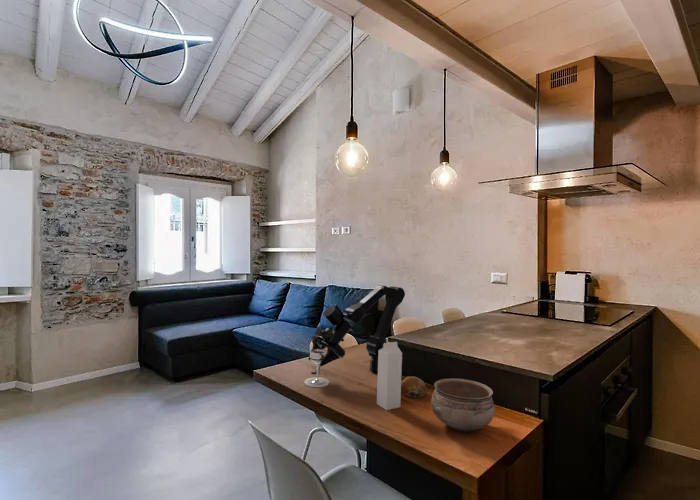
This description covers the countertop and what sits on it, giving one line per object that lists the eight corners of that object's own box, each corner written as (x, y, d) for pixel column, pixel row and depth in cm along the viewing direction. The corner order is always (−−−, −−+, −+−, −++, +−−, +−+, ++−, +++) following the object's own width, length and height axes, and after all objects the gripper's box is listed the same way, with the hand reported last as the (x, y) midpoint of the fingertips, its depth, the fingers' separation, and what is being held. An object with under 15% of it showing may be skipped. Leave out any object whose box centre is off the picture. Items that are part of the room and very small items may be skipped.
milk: (400, 407, 133) (403, 343, 133) (385, 410, 130) (388, 345, 130) (390, 401, 139) (392, 339, 139) (376, 403, 136) (378, 341, 136)
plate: (326, 378, 161) (326, 376, 161) (331, 386, 152) (331, 384, 152) (302, 379, 158) (302, 377, 158) (306, 388, 149) (306, 386, 149)
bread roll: (427, 402, 148) (429, 381, 151) (421, 399, 140) (424, 376, 143) (402, 397, 152) (405, 376, 156) (395, 394, 144) (398, 372, 147)
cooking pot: (458, 407, 135) (459, 372, 135) (510, 427, 121) (512, 388, 121) (411, 426, 119) (412, 387, 119) (465, 452, 104) (467, 407, 104)
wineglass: (328, 379, 157) (329, 350, 157) (321, 384, 151) (322, 354, 151) (313, 377, 160) (314, 348, 160) (305, 382, 153) (307, 351, 153)
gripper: (316, 316, 165) (291, 344, 159) (339, 323, 150) (313, 355, 143) (331, 332, 169) (308, 361, 163) (355, 342, 154) (331, 373, 148)
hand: (314, 362), depth 154 cm, fingers open, 9 cm apart
